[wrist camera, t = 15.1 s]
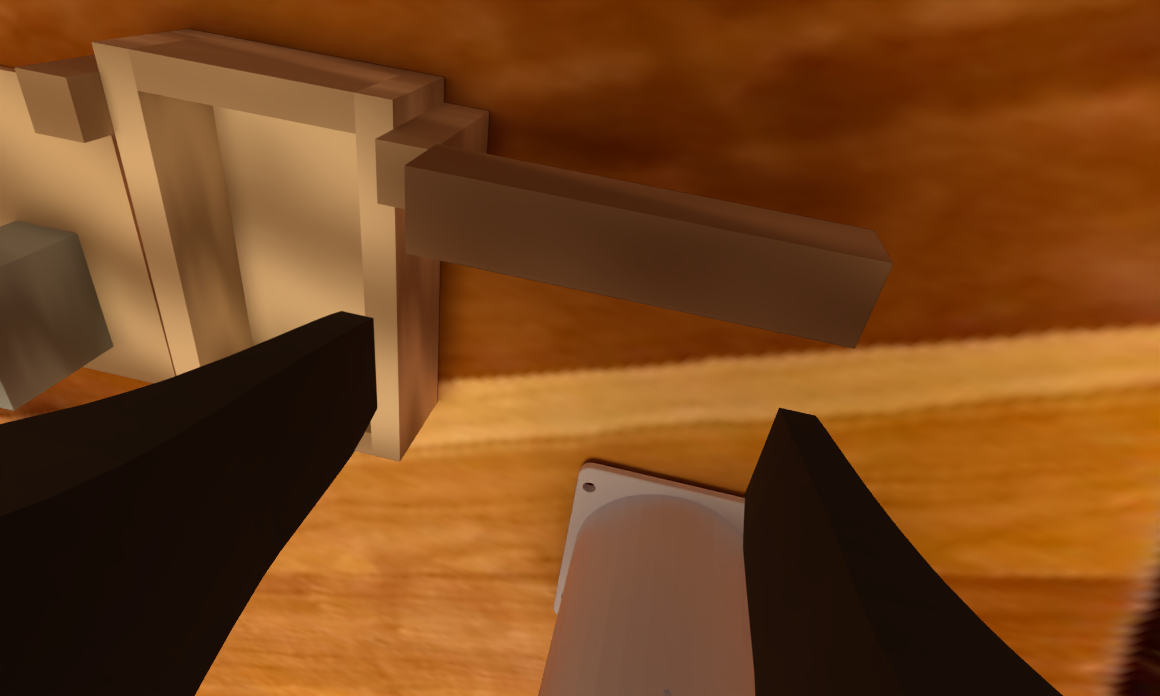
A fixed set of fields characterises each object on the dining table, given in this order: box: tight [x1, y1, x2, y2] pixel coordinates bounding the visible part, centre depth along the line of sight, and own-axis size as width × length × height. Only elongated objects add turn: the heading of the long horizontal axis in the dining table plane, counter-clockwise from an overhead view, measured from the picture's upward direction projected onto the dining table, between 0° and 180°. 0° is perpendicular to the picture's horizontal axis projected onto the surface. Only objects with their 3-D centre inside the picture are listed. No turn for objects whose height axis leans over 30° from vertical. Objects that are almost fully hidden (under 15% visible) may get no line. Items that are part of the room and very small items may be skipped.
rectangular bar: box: [404, 144, 893, 349], centre depth 14 cm, size 2×10×2 cm, turn 82°
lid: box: [0, 66, 176, 411], centre depth 22 cm, size 12×8×5 cm, turn 172°
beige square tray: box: [14, 29, 489, 462], centre depth 20 cm, size 12×11×4 cm
